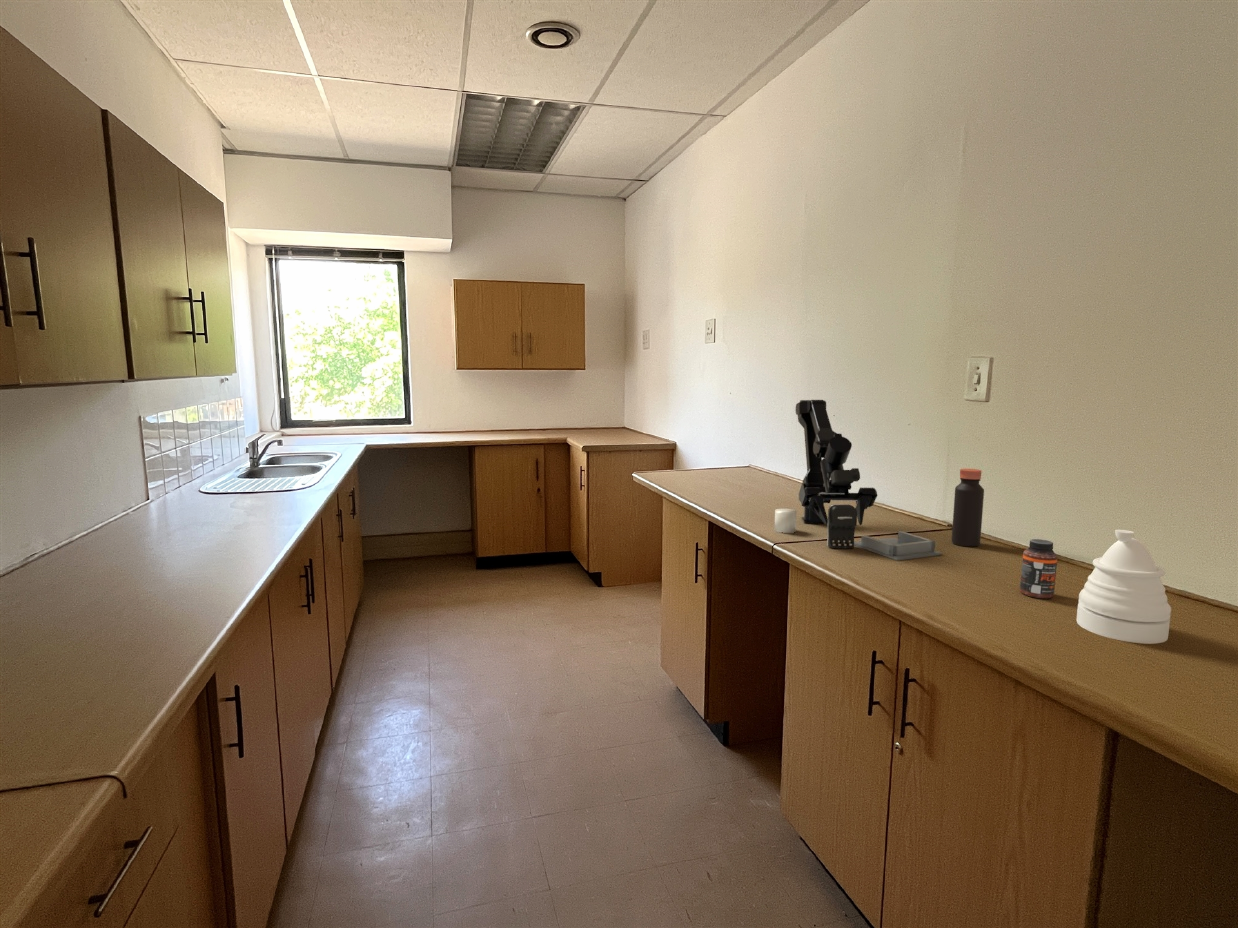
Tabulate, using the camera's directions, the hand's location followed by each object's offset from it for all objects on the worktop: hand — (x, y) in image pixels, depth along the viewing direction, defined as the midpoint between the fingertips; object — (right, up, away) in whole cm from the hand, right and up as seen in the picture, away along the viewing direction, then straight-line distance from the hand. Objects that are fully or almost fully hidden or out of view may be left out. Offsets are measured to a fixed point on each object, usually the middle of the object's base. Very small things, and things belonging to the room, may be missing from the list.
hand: (843, 524), depth 165 cm
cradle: (+13, -7, 0) cm, 15 cm away
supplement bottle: (+28, -12, -34) cm, 45 cm away
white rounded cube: (-10, -4, +21) cm, 23 cm away
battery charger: (0, -7, +2) cm, 7 cm away
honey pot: (+31, -14, -51) cm, 62 cm away
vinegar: (+34, -6, +5) cm, 35 cm away
